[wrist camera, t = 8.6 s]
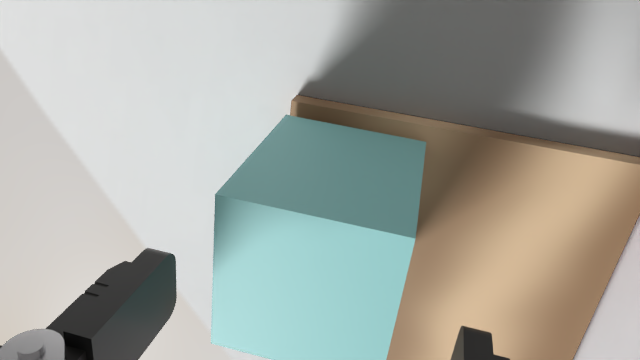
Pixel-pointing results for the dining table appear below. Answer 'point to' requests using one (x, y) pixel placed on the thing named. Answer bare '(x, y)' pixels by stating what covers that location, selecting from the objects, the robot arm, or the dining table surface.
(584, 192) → the board
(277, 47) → the dining table surface
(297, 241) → the aqua foam cube
